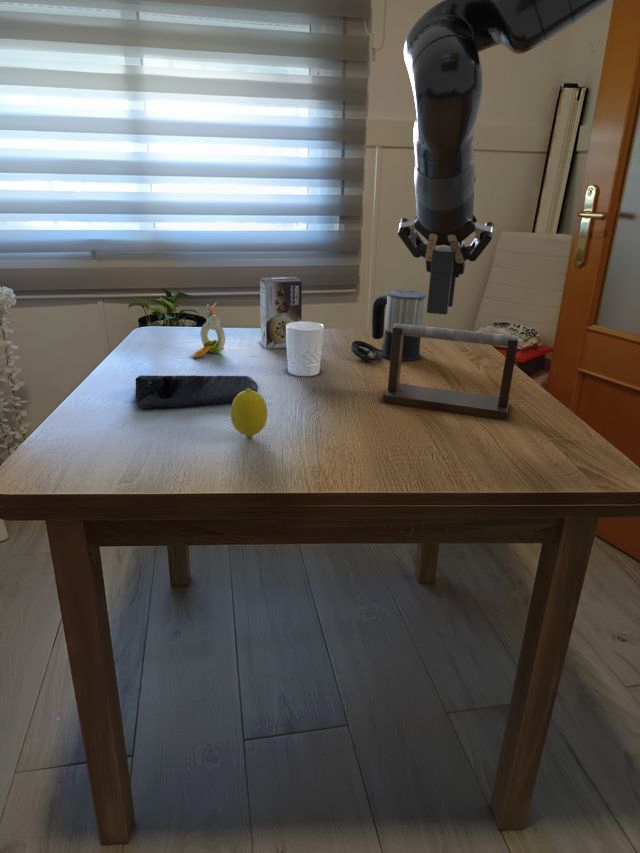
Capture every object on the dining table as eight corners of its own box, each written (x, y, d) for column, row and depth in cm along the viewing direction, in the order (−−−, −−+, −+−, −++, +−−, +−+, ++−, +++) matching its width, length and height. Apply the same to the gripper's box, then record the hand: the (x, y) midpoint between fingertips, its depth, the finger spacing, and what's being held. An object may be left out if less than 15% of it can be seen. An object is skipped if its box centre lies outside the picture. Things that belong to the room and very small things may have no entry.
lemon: (264, 429, 92) (264, 382, 89) (269, 443, 87) (269, 393, 84) (230, 431, 91) (228, 383, 88) (232, 445, 86) (231, 395, 83)
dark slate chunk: (260, 408, 101) (260, 383, 99) (130, 411, 97) (128, 385, 96) (255, 381, 115) (255, 358, 113) (142, 383, 111) (140, 359, 110)
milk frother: (426, 355, 138) (433, 292, 132) (400, 370, 125) (406, 302, 120) (373, 346, 145) (377, 286, 139) (343, 359, 132) (346, 294, 126)
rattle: (181, 352, 133) (178, 302, 129) (213, 347, 138) (211, 299, 134) (195, 359, 128) (193, 308, 123) (228, 354, 132) (227, 305, 128)
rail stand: (508, 405, 107) (520, 331, 101) (506, 420, 100) (519, 341, 94) (392, 389, 113) (398, 319, 108) (382, 402, 106) (388, 327, 101)
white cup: (288, 378, 118) (288, 330, 114) (282, 367, 125) (283, 321, 121) (325, 376, 119) (327, 329, 115) (318, 366, 126) (319, 321, 123)
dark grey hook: (426, 312, 87) (432, 250, 83) (434, 304, 94) (440, 246, 90) (446, 314, 86) (453, 252, 82) (452, 305, 93) (459, 247, 89)
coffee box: (294, 341, 147) (296, 276, 140) (301, 347, 141) (303, 280, 135) (259, 342, 144) (259, 276, 138) (265, 349, 138) (265, 280, 132)
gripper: (385, 206, 75) (396, 288, 90) (496, 210, 71) (488, 295, 86) (396, 163, 77) (406, 250, 93) (504, 165, 73) (495, 255, 89)
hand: (445, 271), depth 89 cm, fingers closed on dark grey hook, 3 cm apart
